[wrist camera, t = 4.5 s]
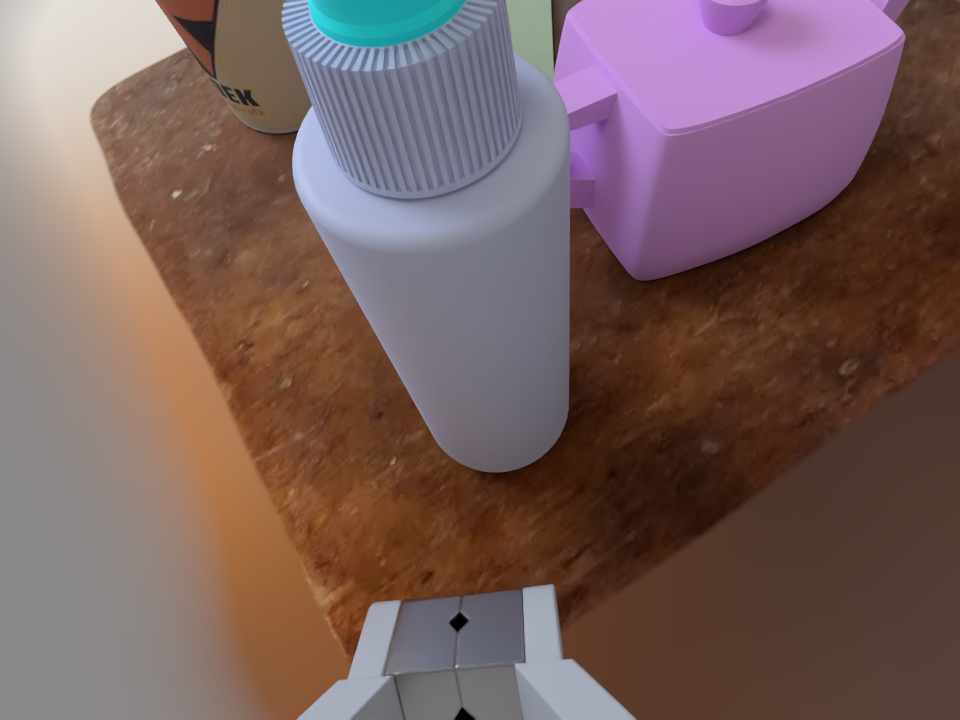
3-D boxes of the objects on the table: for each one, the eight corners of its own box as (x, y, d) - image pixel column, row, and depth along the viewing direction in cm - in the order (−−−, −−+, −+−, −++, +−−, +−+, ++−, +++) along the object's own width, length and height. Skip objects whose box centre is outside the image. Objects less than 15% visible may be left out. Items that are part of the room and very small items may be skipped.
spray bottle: (597, 425, 26) (688, -328, 6) (474, 504, 25) (152, -89, 6) (518, 322, 29) (414, -428, 9) (405, 391, 28) (23, -276, 8)
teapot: (789, 52, 34) (869, -173, 25) (925, 180, 29) (1085, -41, 20) (489, 174, 33) (459, -16, 24) (579, 330, 28) (585, 165, 19)
